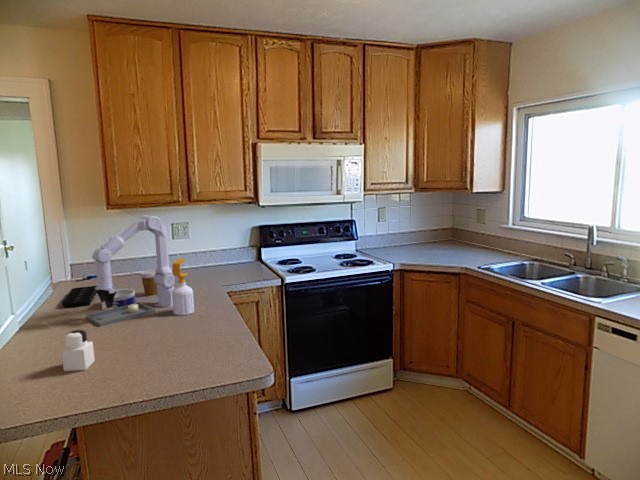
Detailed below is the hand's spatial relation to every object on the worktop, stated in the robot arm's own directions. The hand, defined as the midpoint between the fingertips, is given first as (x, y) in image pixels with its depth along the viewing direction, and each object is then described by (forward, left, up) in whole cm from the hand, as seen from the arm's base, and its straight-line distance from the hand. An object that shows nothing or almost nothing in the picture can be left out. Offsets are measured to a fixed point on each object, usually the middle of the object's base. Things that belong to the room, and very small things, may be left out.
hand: (107, 306), depth 193 cm
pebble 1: (0, 0, -1) cm, 1 cm away
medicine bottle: (-29, +39, -6) cm, 49 cm away
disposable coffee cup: (+10, -37, -6) cm, 39 cm away
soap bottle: (-26, -18, -6) cm, 32 cm away
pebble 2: (-4, -10, -5) cm, 12 cm away
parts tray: (-2, -5, -6) cm, 8 cm away
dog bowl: (+13, -18, -6) cm, 23 cm away
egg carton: (+39, -19, -7) cm, 44 cm away
